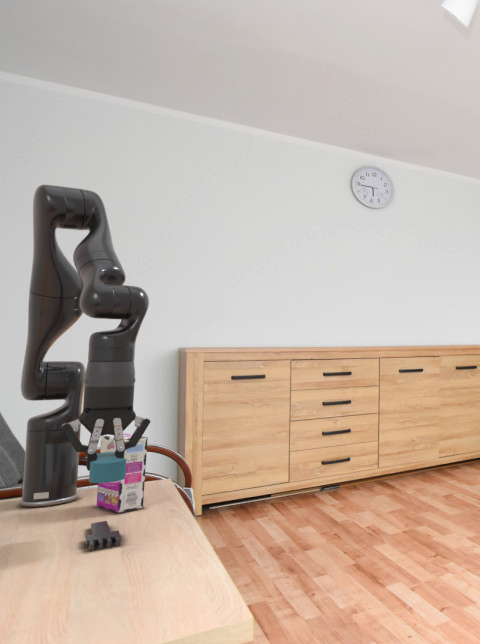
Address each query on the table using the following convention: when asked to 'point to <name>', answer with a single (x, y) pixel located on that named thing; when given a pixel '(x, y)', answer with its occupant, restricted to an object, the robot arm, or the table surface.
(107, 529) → the fork
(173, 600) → the table surface
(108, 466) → the teal mallet
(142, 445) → the candy bar box
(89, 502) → the table surface
